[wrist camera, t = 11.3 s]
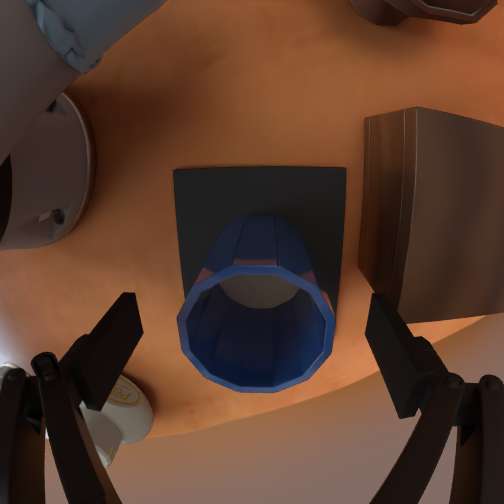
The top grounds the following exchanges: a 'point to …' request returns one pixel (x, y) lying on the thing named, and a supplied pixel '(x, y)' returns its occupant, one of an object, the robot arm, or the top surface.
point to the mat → (261, 211)
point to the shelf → (434, 214)
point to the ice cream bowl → (422, 10)
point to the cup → (258, 309)
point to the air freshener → (119, 419)
